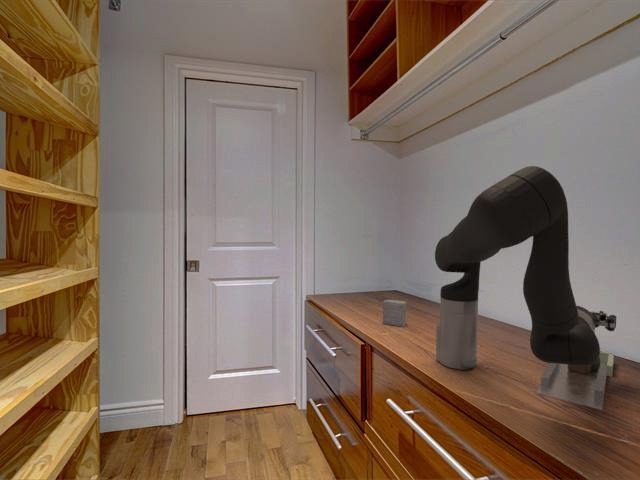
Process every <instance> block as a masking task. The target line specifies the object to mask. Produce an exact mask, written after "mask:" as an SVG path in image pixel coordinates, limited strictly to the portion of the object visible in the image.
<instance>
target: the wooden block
mask: <svg viewBox="0 0 640 480" xmlns="http://www.w3.org/2000/svg"><path fill="white" fill-rule="evenodd" d="M568 370H571V371H575V372H578V373H582V374H587V373H589V372H590V371H591V365H587V366H580V365H569V364H568Z"/></svg>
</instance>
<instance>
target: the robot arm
mask: <svg viewBox="0 0 640 480" xmlns="http://www.w3.org/2000/svg"><path fill="white" fill-rule="evenodd" d="M530 238H532V244H531V251H530V255H529V259H528V262H527V266H526V270H525V273H524V277H523V283H522V286H523V287H522V290H523V291H522V292H523V298H524V300H525V304H526V306H527V309H528V312H529V314H530V319H531V331H530V337H529V339H530V340H529V346H530V349H531V352H532V354H533V355H534V357H536V358H537V359H538V360H540V361H541V362H544V363H546V364H547V363H548V364H549V363H558V364H569V365H580V366H587V365H591V364H594V363H595V362H596V361H597V360H598V358H599V355H600V351H601V347H600V342H599V339H598V338H597V335H596V333H595V332H596V331H595V330H596V329H597V328H599V327H600V326H601V327H604V329H605V330H606V331H608V332H615V329H616V327H617V316H616V315H615V314H610V315H608V313H605V312H604V310H603V311H602V310H599V311H598V312H597V311H589V309H586V308H585V307H583V306H581V305H580V306H579V305H577V303H576V299H575V296H574V293H573V292H574V291H573V288H572V283H571V279H570V270H569V269H570V265H569V264H570V263H569V251H570V250H569V249H570V247H569V245H570V244H569V241H570V240H569V239H570V238H569V208H568V201H567V196H566V194H565V191H564V188H563V187H562V185H561V184H560V182H559V181H558V179H557V178H556V176H554V175H553V174H552V173H551V172H550V171H548V170H546V169H545V168H542V167H540V166H535V165H532V166H531V165H530V166H525V167H523V168H521V169H519V170H516V171H514V172H513V173H512V174H510V175H508V176H507V177H505V178H503V179H501V180H500V181H498V182H496V183H495V184H493V185H491V186H490V187H488V188H486V189H485V190H483V191H482V192H480V193H479V194H478V195H477V196H476V197H475V198H474V200H473V201H472V203H471V205H470V207H469V210H468V212H467V214H466V215H465V217H463V219H461V220H460V221H459V222H458V223H457V224H456V225H455V227H454V228H453V230H452V231H451V232H450V233H448V234H447V235H445V236H442V237H441V238H440V239H439V241H438V242H437V244H436V246H435V250H434V260H435V264H436V266H437V268H438V269H439V270H440V271H442V272H444V273H456V274H457V273H460V274H461V273H463V276H462V277H461V278H460V279H458V280H456V281H455V282H450V283H449V284H448V283H447V284H444V285H443V286H441V288H440V293H439V294H440V295H439V296H440V302H439V303H440V304H439V305H440V307H439V308H440V309H439V324H437V325H436V331H435V332H436V336H435V337H436V339H435V361H438V362H439V363H440V364H441V365H442V366H445V367H447V368H450V369H455V370H461V371H462V370H467V371H469V370H473V369H475V367H477V366H478V365H477V363H478V362H477V361H478V357H477V356H478V329H479V328H478V327H479V326H478V325H479V324H478V323H479V321H478V319H479V318H478V317H479V291H480V275H481V274H480V271H481V262H483V261H486V260H488V259H490V258H492V257H493V256H495V255H496V254H498V253H499V252H500V250H502V249H508V248H510V247H514V246H517V245H519V244H521V243H523V242H525V241H527V240H528V239H530Z"/></svg>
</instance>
